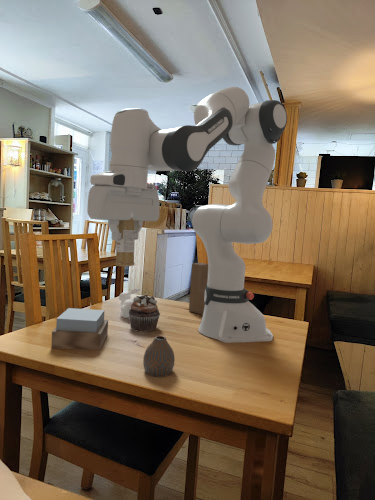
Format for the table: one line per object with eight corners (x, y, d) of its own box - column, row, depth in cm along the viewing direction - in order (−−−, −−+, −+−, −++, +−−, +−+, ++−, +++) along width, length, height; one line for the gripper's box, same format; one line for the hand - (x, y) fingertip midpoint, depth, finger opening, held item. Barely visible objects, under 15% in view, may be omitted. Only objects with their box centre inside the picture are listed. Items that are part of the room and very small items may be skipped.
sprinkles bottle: (113, 265, 88) (112, 208, 87) (131, 264, 91) (131, 209, 90) (119, 267, 84) (118, 208, 83) (137, 266, 87) (137, 208, 86)
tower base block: (107, 336, 105) (108, 319, 104) (99, 353, 93) (100, 334, 92) (64, 334, 104) (65, 317, 104) (51, 350, 92) (51, 331, 92)
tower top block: (103, 320, 103) (104, 310, 103) (95, 332, 93) (96, 321, 93) (68, 318, 103) (68, 308, 103) (56, 330, 93) (56, 318, 93)
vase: (169, 384, 78) (172, 345, 77) (138, 380, 79) (140, 340, 78) (176, 371, 85) (178, 334, 84) (147, 367, 86) (149, 330, 85)
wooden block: (215, 314, 134) (219, 266, 132) (207, 317, 130) (211, 266, 128) (195, 309, 140) (199, 262, 138) (188, 311, 136) (191, 263, 134)
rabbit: (116, 312, 128) (117, 286, 127) (136, 311, 131) (138, 285, 130) (123, 321, 119) (125, 292, 118) (145, 319, 122) (147, 291, 121)
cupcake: (121, 327, 113) (122, 295, 111) (143, 321, 120) (144, 291, 119) (143, 335, 107) (145, 302, 106) (165, 328, 115) (167, 297, 113)
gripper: (148, 184, 96) (145, 237, 97) (84, 175, 79) (81, 239, 81) (167, 185, 92) (163, 240, 93) (103, 175, 75) (101, 242, 77)
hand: (125, 239), depth 87 cm, fingers closed on sprinkles bottle, 4 cm apart
